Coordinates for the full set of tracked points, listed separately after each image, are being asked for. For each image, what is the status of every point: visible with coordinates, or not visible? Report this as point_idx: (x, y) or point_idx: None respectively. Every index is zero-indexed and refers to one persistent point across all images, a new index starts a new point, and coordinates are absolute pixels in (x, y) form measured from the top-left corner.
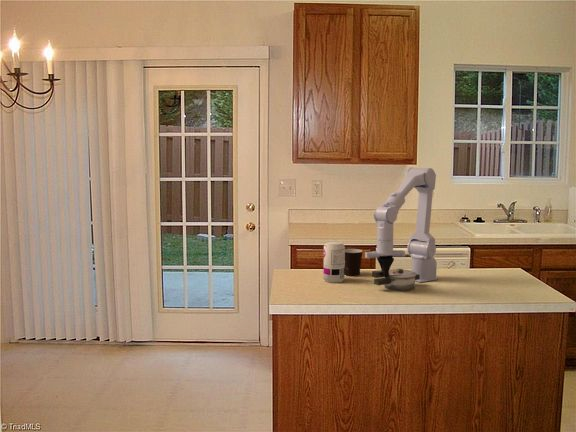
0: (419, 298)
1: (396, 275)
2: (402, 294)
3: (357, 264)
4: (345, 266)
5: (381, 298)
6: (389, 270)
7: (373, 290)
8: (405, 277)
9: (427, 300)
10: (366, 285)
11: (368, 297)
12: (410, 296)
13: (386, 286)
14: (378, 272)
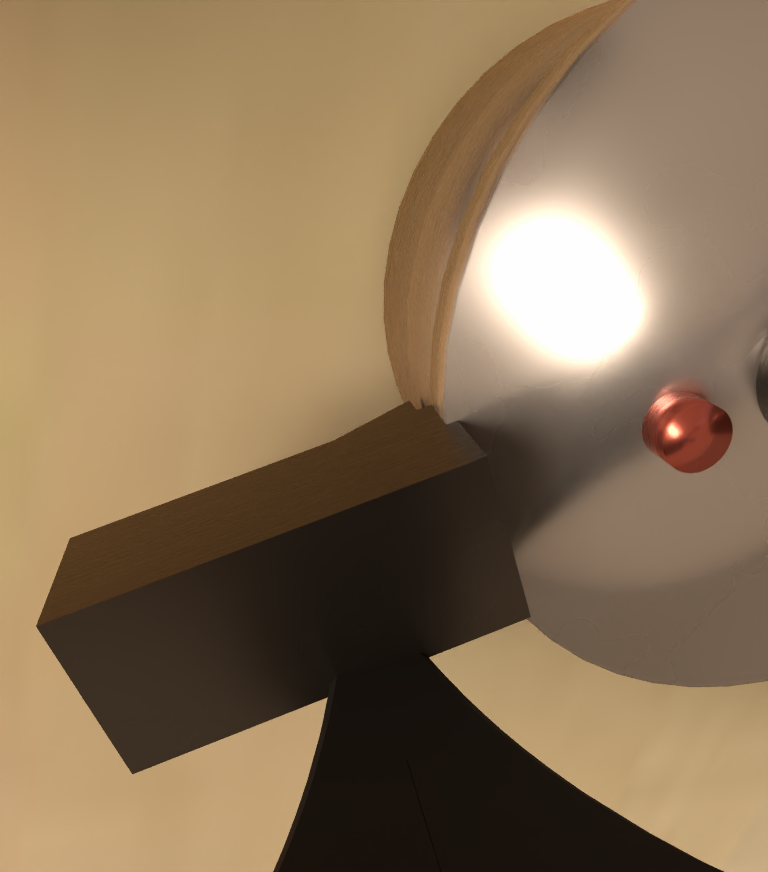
0: (656, 795)
1: (637, 634)
2: (529, 673)
3: None
4: None
5: (208, 859)
6: (683, 74)
7: (138, 508)
8: (762, 663)
9: (701, 843)
10: (14, 132)
11: (27, 849)
12: (592, 740)
13: (400, 384)
14: (219, 733)
